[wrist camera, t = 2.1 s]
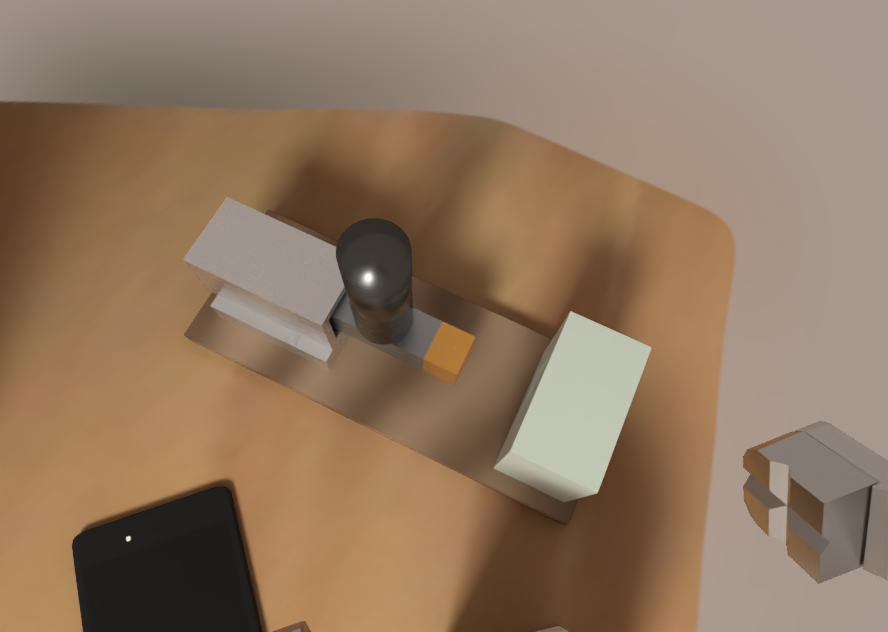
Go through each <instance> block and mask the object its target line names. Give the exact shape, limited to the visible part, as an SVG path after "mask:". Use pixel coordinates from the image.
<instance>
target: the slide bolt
mask: <svg viewBox="0 0 888 632" xmlns="http://www.w3.org/2000/svg"><path fill="white" fill-rule="evenodd" d="M336 259H337V263H338V267H339V270H340V274H341V277H342V280H343V284H344V287H345V290H346V291H345V293H344V295H343V296H342V298H341V300H340V302H339V303H338V305H337V307H336V308H335V310H334V312H333V314H332V315H331V317H330V319H329V322H330V325H331V327H332V328H334V329H336V330H338V331H340V332H342V333H345V334H347V335H349V336H351V337H353V338H355V339H357V340H359V341H361V342H364V343H366V344H368V345H370V346H372V347H374V348H376V349H378V350H380V351H382V352H385V353H387V354H389V355H391V356H393V357H395V358H397V359H399V360H401V361H403V362H406V363H408V364H410V365H412V366H414V367H416V368H418V369H420V370H422V371H424V372H427V373H429V374H431V375H433V376H435V377H437V378H439V379H441V380H443V381H446V382H448V383H450V384H452V385H454V386H455V384H456V382H457V380H458V378H459V376H460V374H461V372H462V370H463V367H464V365H465V363H466V361H467V359H468V357H469V355H470V353H471V351H472V348H473V345H474V341H475V336H473V335H471V334H469V333H467V332H465V331H462V330H460V329H458V328H456V327H454V326H452V325H449V324H447V323H445V322H443V321H441V320H439V319H436V318H434V317H432V316H430V315H428V314H426V313H423V312H421V311H419V310H417V309H415V308H413V294H412V259H411V245H410V242H409V239H408V237H407V235H406V234H405V233H404V231H403V230H402V229H401V228H400V227H398V226H397V225H395V224H394V223H392V222H389V221H387V220H383V219H366V220H362V221H359V222H357V223H355V224H353V225H351V226H350V227H349V228H348V229H346V230H345V231H344V233H343V234H342V235H341V237H340V239H339V241H338V243H337V247H336Z"/></svg>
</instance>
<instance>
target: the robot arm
mask: <svg viewBox="0 0 888 632" xmlns="http://www.w3.org/2000/svg"><path fill="white" fill-rule="evenodd" d="M743 467H744V468H745V469H746V470H747V471H748V472H749V473H750V476H749V477H748V479H747V481H746V483H745V484H744V486H743V489H744V501H745V503H746V506H747V508H748V511H749V513H750V515H751V517H752V518H753V519H754V521H755V522H756V524H757V525H758V526H759V527H760V528H761V529H762V530H763V531H764V532H765V533H766V534H767V535H768V536H769V537H772V538H775V539H778V540H781V541H784V542H786V545H787V551H788V555H789V556H790V557H791V558H792V559H793V560H794V561H795V562H796V563H797V564H798V565H799V566H800V567H801V568H803V569H804V570H805V571H806V572H807V573H808V574H809V575H810V576H811V577H812V578H813V579H814V580H815V581H817V583H821V582H824V581H827V580H829V579H832V578H834V577H837V576H839V575H842V574H845V573H847V572H850V571H852V570H855V569H857V568H860V567H862V566H863V569H864V570H866V571H868V572H870V573H873V574H875V575H877V576H880V577H882V578H884V579H886V580H888V460H886V459H885V458H883V457H882V456H880V455H878V454H877V453H875V452H874V451H872V450H871V449H869V448H867V447H866V446H864V445H863V444H861V443H860V442H858V441H856V440H855V439H854V438H852V437H850V436H849V435H847V434H846V433H844V432H843V431H841V430H839V429H838V428H836V427H835V426H833V425H832V424H830V423H827V422H823V421H819V422H816V423H814V424H811V425H808V426H806V427H803V428H801V429H798V430H796V431H794V432H790V433H787V434H785V435H782V436H780V437H777V438H775V439H773V440H770V441H767V442H765V443H762V444H760V445H757V446H755V447H752V448H750V449H747V451H746V453H745V454H744V456H743ZM273 632H311V631H310V629H309V627H308V625H307V624H306V622H305V621H301V622H298V623H296V624H293V625H290V626H287V627H284V628H282V629H279V630H276V631H273Z"/></svg>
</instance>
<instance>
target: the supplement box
mask: <svg viewBox="0 0 888 632" xmlns="http://www.w3.org/2000/svg"><path fill="white" fill-rule="evenodd" d="M536 632H569V631H567V630H566V629H564V628H562V627H560V626H556V627H552V628H548V629H544V630H540V631H536Z"/></svg>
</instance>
